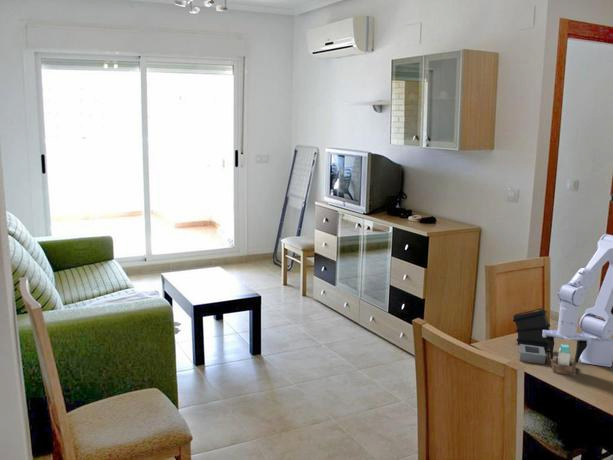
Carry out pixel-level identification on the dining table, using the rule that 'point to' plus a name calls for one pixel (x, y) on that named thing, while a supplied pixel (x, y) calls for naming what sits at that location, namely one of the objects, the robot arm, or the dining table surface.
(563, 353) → the plug
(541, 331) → the black piece
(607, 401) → the dining table surface
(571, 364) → the brown wooden frame
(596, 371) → the dining table surface
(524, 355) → the port panel
